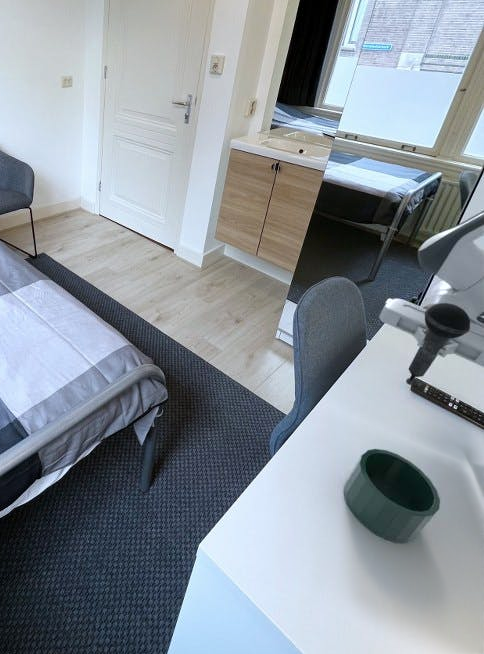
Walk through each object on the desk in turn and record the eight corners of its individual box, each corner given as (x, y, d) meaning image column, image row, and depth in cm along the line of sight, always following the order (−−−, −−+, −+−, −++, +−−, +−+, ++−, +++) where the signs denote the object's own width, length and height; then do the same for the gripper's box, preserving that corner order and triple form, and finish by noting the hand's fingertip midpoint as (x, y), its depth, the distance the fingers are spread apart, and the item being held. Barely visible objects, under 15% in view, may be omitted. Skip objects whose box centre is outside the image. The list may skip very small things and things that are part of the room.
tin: (409, 492, 78) (428, 465, 74) (426, 556, 69) (449, 529, 65) (340, 466, 82) (355, 439, 78) (347, 524, 72) (365, 496, 68)
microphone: (387, 367, 91) (428, 291, 81) (424, 378, 88) (472, 302, 79) (392, 389, 85) (437, 311, 76) (432, 402, 83) (484, 323, 73)
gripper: (394, 285, 95) (378, 309, 86) (512, 332, 83) (508, 366, 74) (383, 307, 98) (366, 333, 89) (496, 356, 86) (490, 391, 77)
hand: (432, 348), depth 81 cm, fingers closed on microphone
